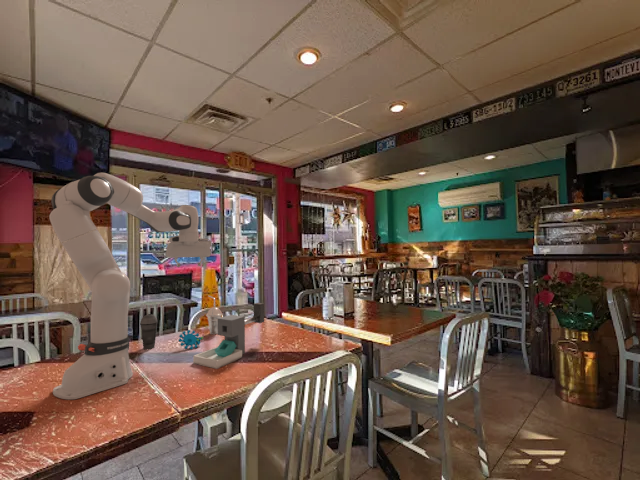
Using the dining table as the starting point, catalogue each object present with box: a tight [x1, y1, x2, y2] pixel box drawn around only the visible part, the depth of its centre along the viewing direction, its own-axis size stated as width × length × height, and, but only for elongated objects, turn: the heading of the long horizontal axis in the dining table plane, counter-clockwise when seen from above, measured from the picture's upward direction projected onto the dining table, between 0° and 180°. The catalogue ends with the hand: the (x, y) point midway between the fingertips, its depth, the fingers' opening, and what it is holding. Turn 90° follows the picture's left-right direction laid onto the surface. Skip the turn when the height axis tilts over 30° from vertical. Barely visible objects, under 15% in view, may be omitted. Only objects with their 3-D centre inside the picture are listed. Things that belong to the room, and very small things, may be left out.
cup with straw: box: [205, 295, 224, 335], centre depth 171 cm, size 8×9×20 cm
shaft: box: [245, 302, 265, 326], centre depth 145 cm, size 22×4×9 cm, turn 152°
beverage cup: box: [139, 304, 159, 350], centre depth 146 cm, size 7×7×20 cm
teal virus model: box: [178, 329, 204, 350], centre depth 147 cm, size 11×6×10 cm
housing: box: [217, 314, 246, 355], centre depth 136 cm, size 8×8×16 cm
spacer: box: [215, 339, 236, 357], centre depth 133 cm, size 3×6×6 cm
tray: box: [192, 346, 243, 370], centre depth 129 cm, size 14×13×3 cm
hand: (189, 266), depth 154 cm, fingers open, 8 cm apart
